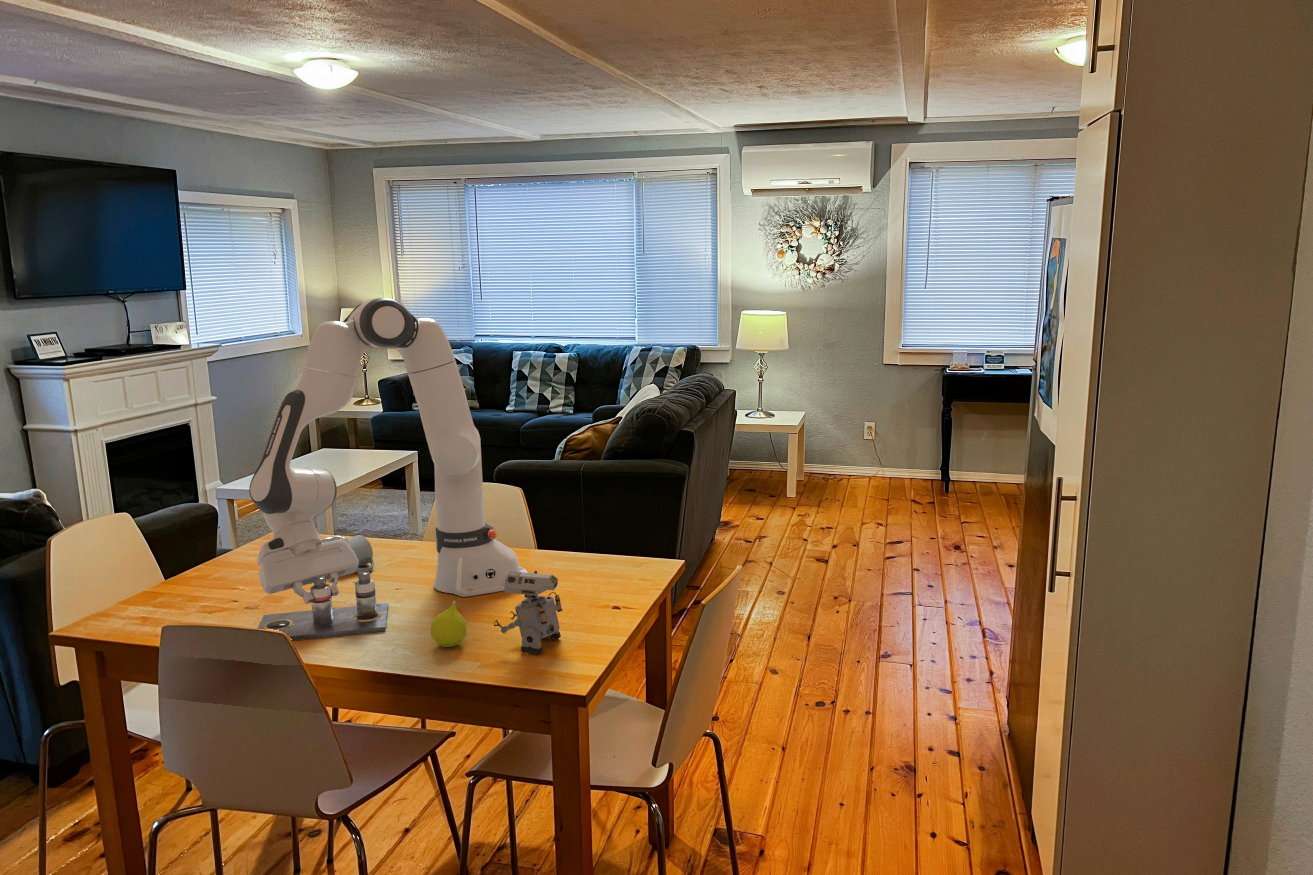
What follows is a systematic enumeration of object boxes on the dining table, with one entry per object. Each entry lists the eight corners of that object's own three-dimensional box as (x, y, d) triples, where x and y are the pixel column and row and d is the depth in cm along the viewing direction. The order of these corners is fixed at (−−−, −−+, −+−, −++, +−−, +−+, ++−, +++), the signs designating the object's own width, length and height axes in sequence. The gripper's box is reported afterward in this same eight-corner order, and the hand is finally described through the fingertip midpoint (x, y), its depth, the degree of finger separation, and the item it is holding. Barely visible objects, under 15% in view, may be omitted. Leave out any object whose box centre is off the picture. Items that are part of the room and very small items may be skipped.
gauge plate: (388, 607, 207) (388, 602, 207) (385, 631, 194) (384, 625, 194) (264, 619, 202) (263, 614, 201) (252, 644, 188) (251, 639, 188)
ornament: (471, 638, 190) (468, 591, 188) (463, 652, 183) (460, 604, 181) (436, 638, 190) (433, 592, 188) (427, 652, 183) (424, 604, 181)
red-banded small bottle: (334, 616, 200) (330, 574, 198) (332, 623, 196) (328, 580, 194) (314, 617, 199) (310, 575, 197) (311, 625, 195) (308, 582, 193)
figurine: (517, 632, 192) (514, 563, 189) (567, 639, 188) (564, 569, 185) (494, 649, 184) (491, 577, 181) (546, 657, 180) (543, 584, 177)
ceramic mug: (328, 569, 233) (326, 540, 232) (354, 560, 240) (352, 532, 238) (356, 577, 228) (354, 548, 226) (382, 568, 234) (381, 539, 233)
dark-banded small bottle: (377, 611, 202) (374, 569, 200) (376, 618, 198) (373, 575, 196) (358, 613, 201) (354, 571, 199) (356, 620, 197) (353, 577, 195)
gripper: (341, 541, 210) (364, 593, 205) (249, 562, 197) (271, 618, 191) (348, 526, 206) (372, 578, 201) (255, 546, 193) (278, 603, 187)
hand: (322, 598), depth 196 cm, fingers closed on red-banded small bottle, 4 cm apart
